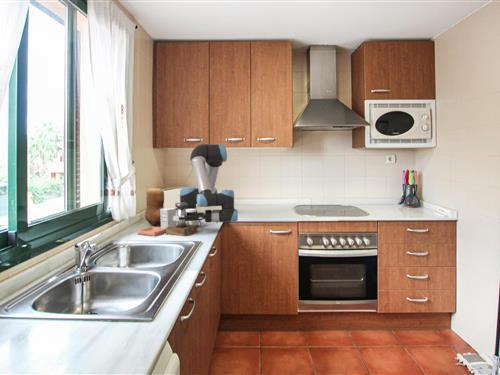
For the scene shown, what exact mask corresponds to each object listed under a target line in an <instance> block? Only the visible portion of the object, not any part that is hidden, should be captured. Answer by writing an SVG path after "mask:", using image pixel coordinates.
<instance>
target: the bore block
mask: <svg viewBox="0 0 500 375" xmlns="http://www.w3.org/2000/svg"><path fill="white" fill-rule="evenodd" d="M197 232H198V227H197V225H186V227H184V228H179V227H178V226H177V225H174V226H170V227H166V233H165V234H166V235H168V234H170V235H171V236H180V237H186V236H190V235H193V234H196V233H197Z"/></svg>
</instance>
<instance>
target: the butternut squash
mask: <svg viewBox="0 0 500 375" xmlns="http://www.w3.org/2000/svg"><path fill="white" fill-rule="evenodd" d="M164 203H165V193H164V190H163V189H161V188H158V187H157V188H156V187H151V188H148V189H147V191H146V209H145V214H144V218H145V220H146V222H148V224H150V225H152V227H157V226H158V227H159V226H161V216H160V209H164V208H165V207H164Z"/></svg>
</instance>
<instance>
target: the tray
mask: <svg viewBox="0 0 500 375" xmlns="http://www.w3.org/2000/svg"><path fill="white" fill-rule="evenodd" d="M164 233H165V234H166V228H161V226H160V227H159V226H158V227H157V226H149V227H145V228H141V229H138V230H137V236H138V235H139V236H145V237H153V236H155V237H158V236H161V235H165V234H164Z"/></svg>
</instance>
